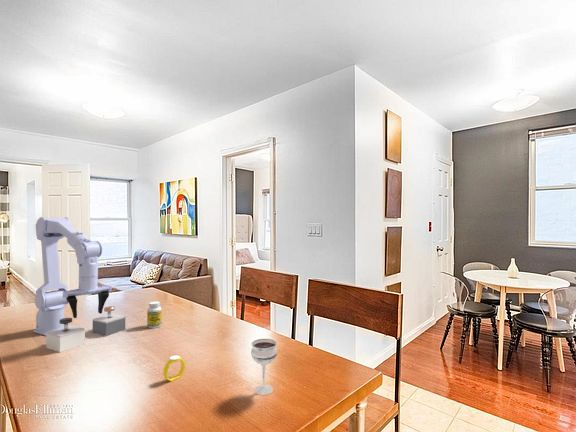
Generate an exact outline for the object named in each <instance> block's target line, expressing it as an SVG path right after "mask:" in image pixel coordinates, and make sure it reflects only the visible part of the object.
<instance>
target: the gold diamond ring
mask: <svg viewBox="0 0 576 432" xmlns="http://www.w3.org/2000/svg"><path fill="white" fill-rule="evenodd" d="M168 359H169V360H168V361H167V362H166V364H165V366H164V368H163V373H162V375H163V376H164V379H166V380H167V381H169V382H174V381H175V380H177V379H179V378H181V377H182V376H183V374H184V372H185V368H186V363H185V361H184V359H183V358H181V356H180V355H172V356H170V357H168ZM179 361H180V365H181V366H180V369H179V372H178V373H177V374H176V375H174V376H172V377H170V378H169V376H168V372H169V371H168V370H169V368H170V366H171V365H172V363H175V362H179Z"/></svg>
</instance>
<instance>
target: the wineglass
mask: <svg viewBox="0 0 576 432" xmlns="http://www.w3.org/2000/svg"><path fill="white" fill-rule="evenodd" d="M277 345H278V343H277V341H276V340H274V339H271V338H259V339H258V338H257V339H256V340H253V341H252V342H251V348H250V349H251V350H250V355H251V358H252V360H253V361H255V362H256V363H257V364H259V365H261V366H262V384H259V385H257V386H255V388H254V389H253V392H254V393H255V394H257V395H259V396H267V395H270V394H272V393H273V392H274V387H273V386H271V385H268V384H266V383H265V381H266V367H267V365H269V364H271V363H272V362H273V361H274V360H275V359H276V357H277V355H278V349H277Z"/></svg>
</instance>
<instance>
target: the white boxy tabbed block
mask: <svg viewBox="0 0 576 432" xmlns="http://www.w3.org/2000/svg"><path fill="white" fill-rule="evenodd" d="M124 330H126V315H122V314H117V313H113V312H111V318H108V314H105V315H104V314H103V315H102V316H98V317H94V318H92V334H96V335H101V336H103V337H108V336H110V335H113V334H116V333H119V332H121V331H124Z"/></svg>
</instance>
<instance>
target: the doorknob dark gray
mask: <svg viewBox="0 0 576 432" xmlns="http://www.w3.org/2000/svg"><path fill="white" fill-rule="evenodd" d="M72 322H73V317H64V318H63V319H60V324H64V332H65V331H68V326H69V324H70V323H72Z"/></svg>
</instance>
